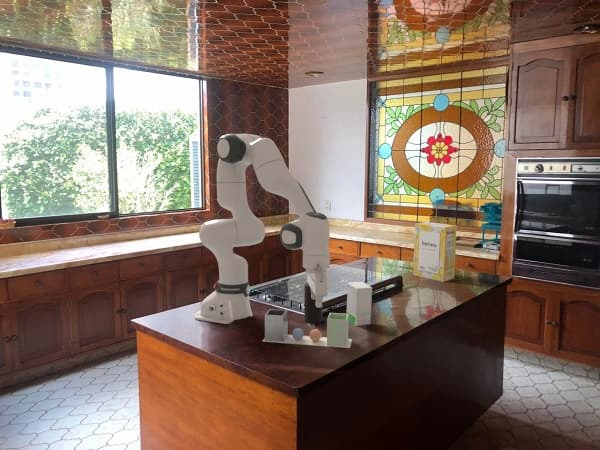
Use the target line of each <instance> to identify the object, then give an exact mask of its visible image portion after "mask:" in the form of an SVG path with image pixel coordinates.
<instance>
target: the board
mask: <svg viewBox="0 0 600 450" xmlns="http://www.w3.org/2000/svg"><path fill="white" fill-rule="evenodd" d="M352 341H353V339H352V338H348V342H347V346H346V347H341V346H328V345H327V336H324V337H323V336H321V338H320V340H318V341H313V340H311V338H310V335H304V336H303V338H302V339H300V340H296V339H294V338H293V336H292V334H288V335H287V337H286V339H285V341H284V342H275V341H265V337H264V338H263V339H262V342H266V343H267V342H268V343H279V344H290V345H291V344H293V345H305V346H317V347H318V346H320V347H331V348H332V347H333V348H345V349H350V348H351V345H352Z"/></svg>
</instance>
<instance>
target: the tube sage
mask: <svg viewBox="0 0 600 450" xmlns="http://www.w3.org/2000/svg"><path fill="white" fill-rule="evenodd" d="M326 337H327V345H328V346H327V347H330V346H341V347H340V348H343V347H346V346H347V342H348V339H349V323H348V314H346V313H341V312H340V313H337V312H329V314H328V316H327V318H326Z"/></svg>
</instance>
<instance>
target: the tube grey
mask: <svg viewBox="0 0 600 450" xmlns="http://www.w3.org/2000/svg"><path fill="white" fill-rule="evenodd" d="M288 311H289V310H288V309H275V308H274V309H272V308H269V309H268V311H266V313H265V314H264V338H265V341H275V342H274V343H277V342H284V341H285V339H286V337H287V335H289V334H288V332H289V328H288V317H289V316H288Z"/></svg>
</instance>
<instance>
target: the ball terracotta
mask: <svg viewBox="0 0 600 450" xmlns="http://www.w3.org/2000/svg"><path fill="white" fill-rule="evenodd" d="M309 336H310V338H311V340H313V341H318V340H320V338H321V337H322V332H321V331H320V330H319V328H315V329H314V328H313V329H311V331H309Z"/></svg>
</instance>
